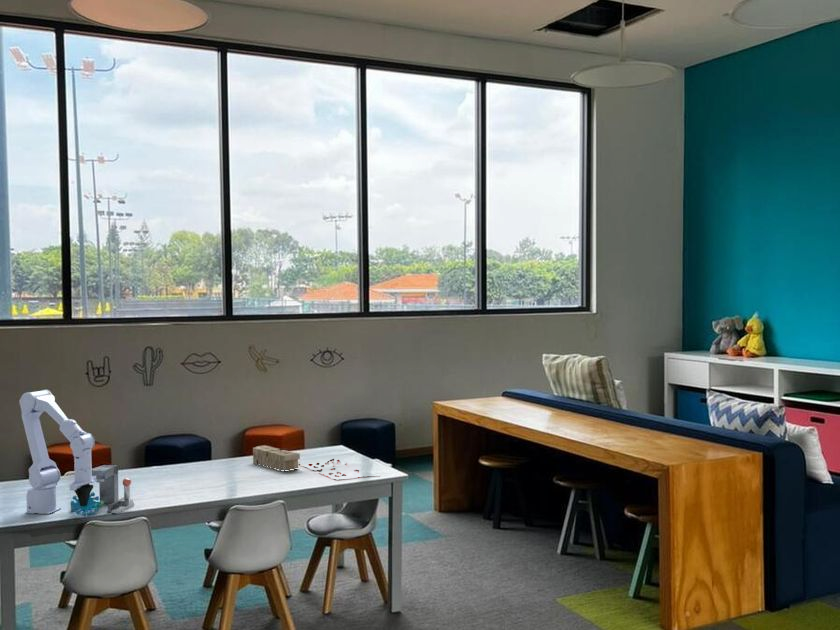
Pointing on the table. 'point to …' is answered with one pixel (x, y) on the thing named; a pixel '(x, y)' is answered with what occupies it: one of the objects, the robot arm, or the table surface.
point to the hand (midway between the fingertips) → (83, 505)
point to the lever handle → (126, 492)
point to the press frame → (109, 487)
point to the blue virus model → (89, 506)
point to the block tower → (275, 458)
